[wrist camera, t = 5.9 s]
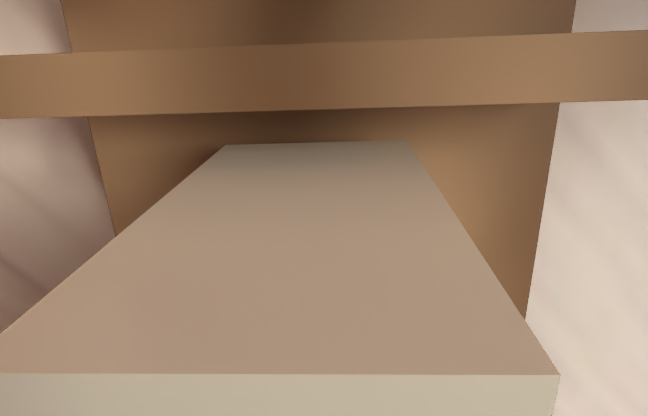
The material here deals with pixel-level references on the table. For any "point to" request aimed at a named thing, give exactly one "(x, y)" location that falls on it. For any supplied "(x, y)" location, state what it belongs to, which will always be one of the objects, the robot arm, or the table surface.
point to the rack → (334, 94)
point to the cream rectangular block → (283, 302)
